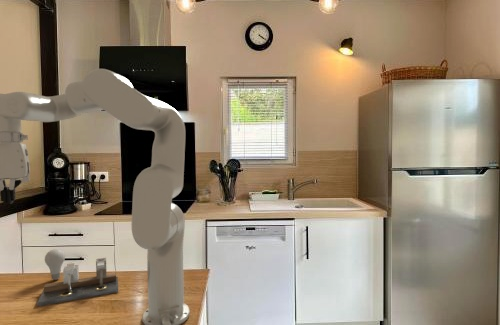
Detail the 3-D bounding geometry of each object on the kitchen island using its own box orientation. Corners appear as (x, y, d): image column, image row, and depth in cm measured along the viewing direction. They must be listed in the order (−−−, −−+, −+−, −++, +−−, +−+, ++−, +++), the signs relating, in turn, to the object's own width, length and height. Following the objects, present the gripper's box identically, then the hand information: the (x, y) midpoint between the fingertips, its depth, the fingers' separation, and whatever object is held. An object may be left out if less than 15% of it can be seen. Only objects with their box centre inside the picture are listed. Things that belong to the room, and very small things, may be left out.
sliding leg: (76, 290, 98) (75, 269, 98) (62, 293, 97) (61, 271, 96) (79, 281, 105) (78, 261, 105) (65, 283, 104) (64, 263, 103)
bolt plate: (118, 292, 101) (118, 288, 101) (37, 306, 92) (37, 302, 92) (117, 279, 110) (117, 276, 110) (44, 292, 101) (44, 287, 101)
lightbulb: (54, 275, 114) (52, 246, 113) (69, 276, 113) (68, 246, 113) (41, 283, 108) (39, 252, 107) (57, 284, 107) (56, 252, 106)
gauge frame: (116, 285, 103) (115, 263, 103) (41, 298, 95) (40, 274, 94) (116, 277, 110) (115, 256, 109) (45, 288, 101) (44, 265, 101)
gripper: (39, 139, 94) (42, 199, 95) (-24, 139, 88) (-20, 203, 89) (34, 138, 87) (36, 203, 88) (-35, 138, 81) (-31, 208, 82)
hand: (8, 203), depth 89 cm, fingers closed
